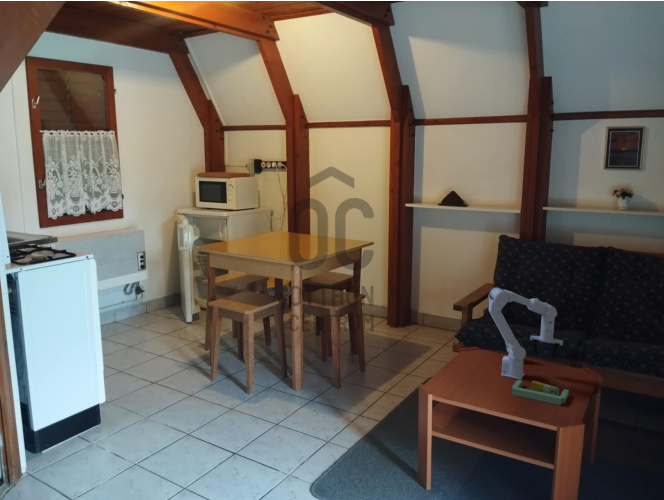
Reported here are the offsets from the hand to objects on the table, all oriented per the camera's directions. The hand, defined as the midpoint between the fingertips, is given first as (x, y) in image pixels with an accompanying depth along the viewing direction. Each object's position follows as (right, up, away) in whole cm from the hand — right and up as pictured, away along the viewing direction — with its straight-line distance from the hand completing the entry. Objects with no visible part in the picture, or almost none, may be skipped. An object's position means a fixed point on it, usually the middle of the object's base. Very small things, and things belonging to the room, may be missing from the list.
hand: (545, 356), depth 265 cm
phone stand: (-7, -6, +22) cm, 24 cm away
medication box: (-8, -13, -19) cm, 24 cm away
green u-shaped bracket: (-11, -13, -22) cm, 28 cm away
